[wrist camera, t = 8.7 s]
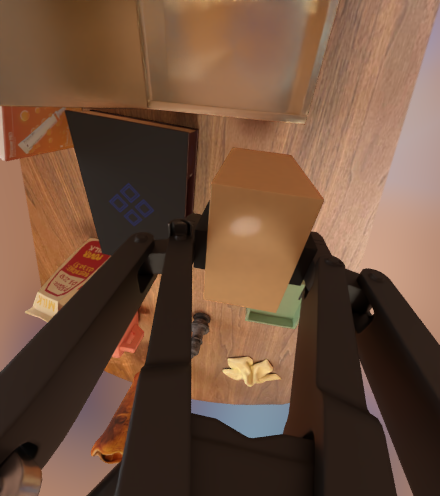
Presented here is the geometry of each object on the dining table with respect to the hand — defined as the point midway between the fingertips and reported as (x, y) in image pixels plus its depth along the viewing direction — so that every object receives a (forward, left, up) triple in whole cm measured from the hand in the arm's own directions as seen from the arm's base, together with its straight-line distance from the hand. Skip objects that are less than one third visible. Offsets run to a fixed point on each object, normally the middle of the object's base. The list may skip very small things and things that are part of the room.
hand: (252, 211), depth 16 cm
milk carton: (+33, +26, -21) cm, 47 cm away
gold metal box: (+5, -13, -21) cm, 25 cm away
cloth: (-12, +72, -21) cm, 76 cm away
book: (+19, +8, -21) cm, 29 cm away
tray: (-11, +31, -21) cm, 39 cm away
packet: (0, 0, -3) cm, 3 cm away
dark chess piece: (+8, +46, -21) cm, 51 cm away
